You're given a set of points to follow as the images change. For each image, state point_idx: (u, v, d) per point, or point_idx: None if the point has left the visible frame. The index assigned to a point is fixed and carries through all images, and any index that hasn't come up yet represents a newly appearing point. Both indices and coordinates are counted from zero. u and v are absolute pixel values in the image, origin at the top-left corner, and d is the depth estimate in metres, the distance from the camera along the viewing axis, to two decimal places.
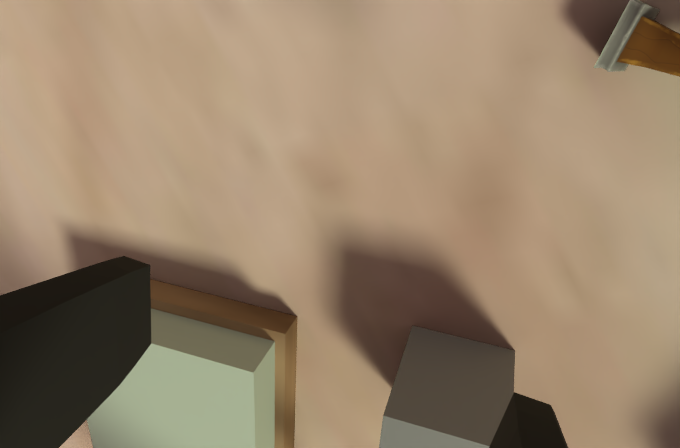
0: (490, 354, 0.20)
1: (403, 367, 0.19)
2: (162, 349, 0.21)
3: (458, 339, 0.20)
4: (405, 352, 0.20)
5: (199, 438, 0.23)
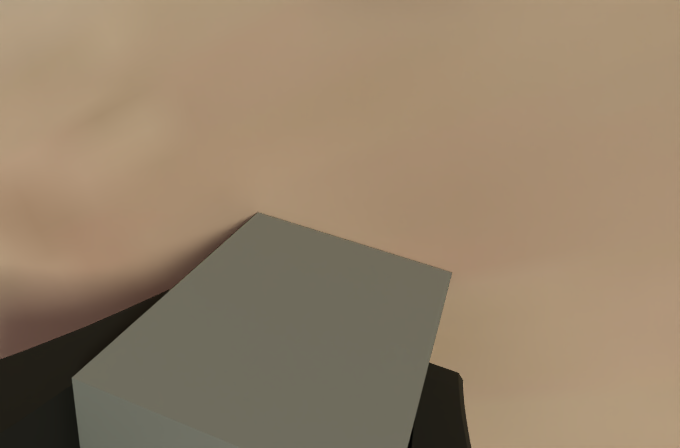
0: None
1: None
2: None
3: None
4: None
5: None
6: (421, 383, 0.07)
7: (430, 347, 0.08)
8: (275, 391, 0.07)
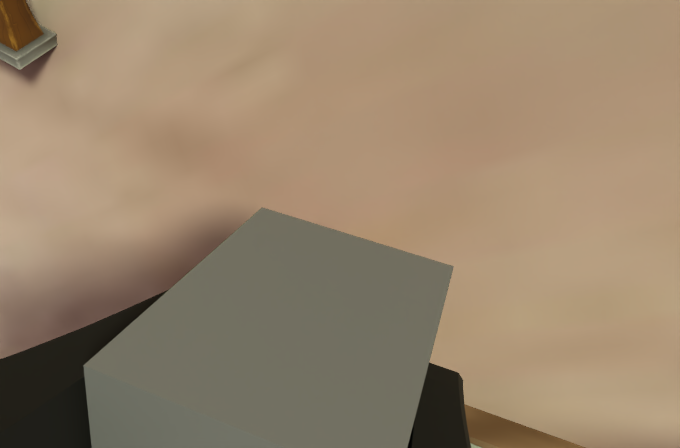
0: None
1: None
2: None
3: None
4: None
5: None
6: (424, 372, 0.07)
7: (432, 338, 0.08)
8: (281, 380, 0.07)
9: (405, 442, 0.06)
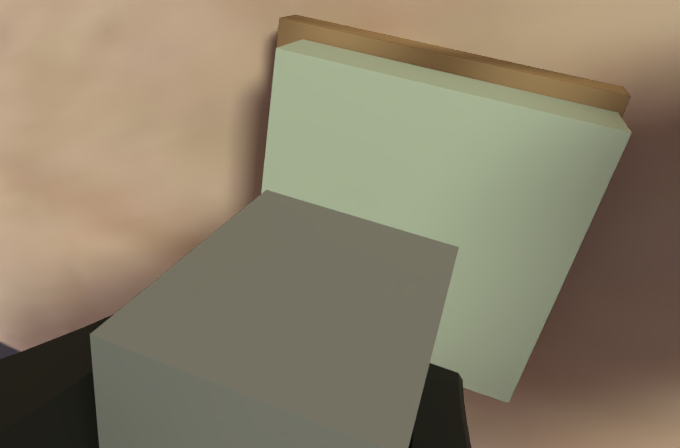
0: None
1: None
2: (266, 188, 0.16)
3: None
4: None
5: (425, 188, 0.14)
6: (431, 345, 0.07)
7: (439, 313, 0.08)
8: (289, 349, 0.07)
9: (414, 410, 0.06)
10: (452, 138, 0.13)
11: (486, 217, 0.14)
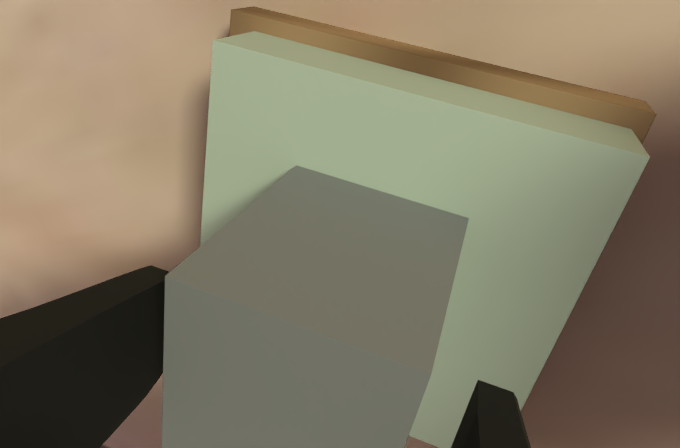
0: None
1: None
2: (207, 208, 0.13)
3: None
4: None
5: None
6: (448, 295, 0.08)
7: (454, 270, 0.09)
8: (330, 294, 0.08)
9: (436, 342, 0.07)
10: (425, 156, 0.11)
11: (467, 253, 0.11)
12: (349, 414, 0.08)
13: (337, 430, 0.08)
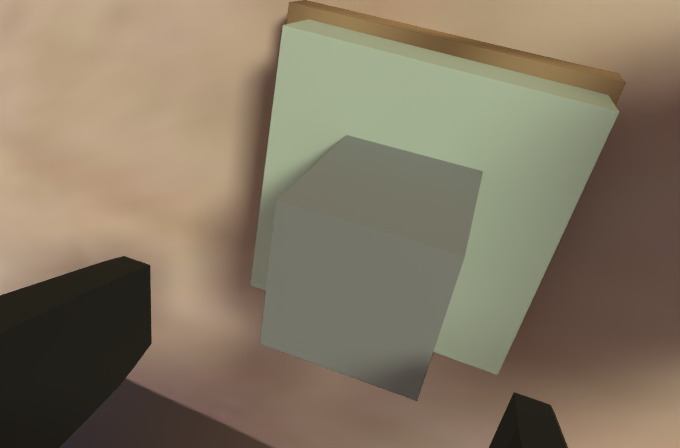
0: None
1: None
2: (269, 162, 0.16)
3: None
4: None
5: None
6: (472, 216, 0.12)
7: (474, 202, 0.12)
8: (389, 213, 0.11)
9: (466, 240, 0.11)
10: (449, 115, 0.14)
11: (480, 193, 0.15)
12: (406, 293, 0.11)
13: (396, 308, 0.11)
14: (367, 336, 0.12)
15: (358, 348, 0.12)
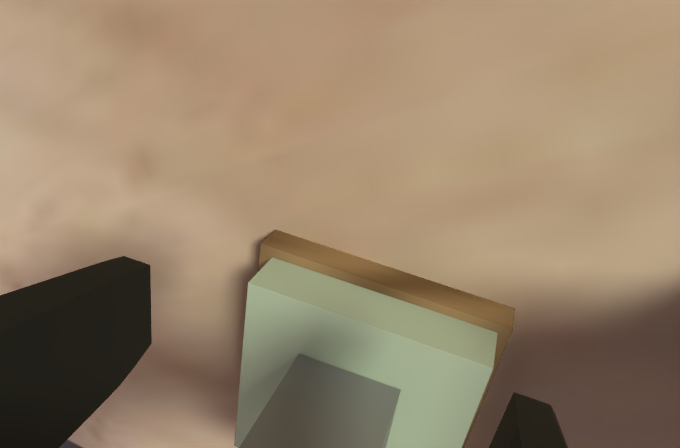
0: None
1: None
2: (244, 366, 0.21)
3: None
4: None
5: None
6: None
7: (383, 438, 0.17)
8: None
9: None
10: (373, 354, 0.18)
11: (401, 406, 0.19)
12: None
13: None
14: None
15: None
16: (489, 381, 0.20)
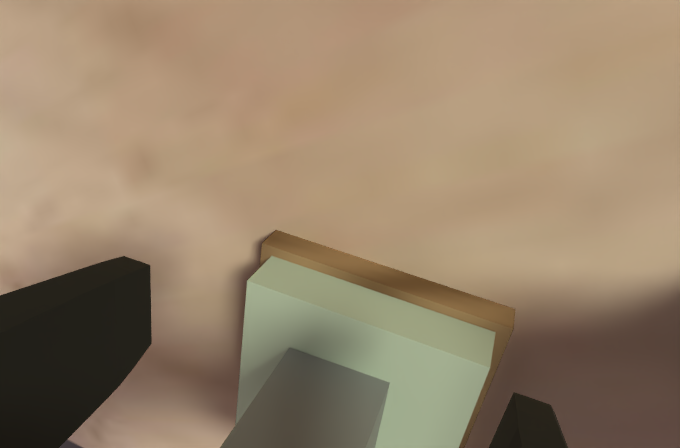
0: None
1: None
2: (243, 364, 0.21)
3: None
4: None
5: None
6: (364, 447, 0.16)
7: (371, 428, 0.17)
8: None
9: None
10: (371, 352, 0.19)
11: (399, 404, 0.19)
12: None
13: None
14: None
15: None
16: (489, 381, 0.20)
